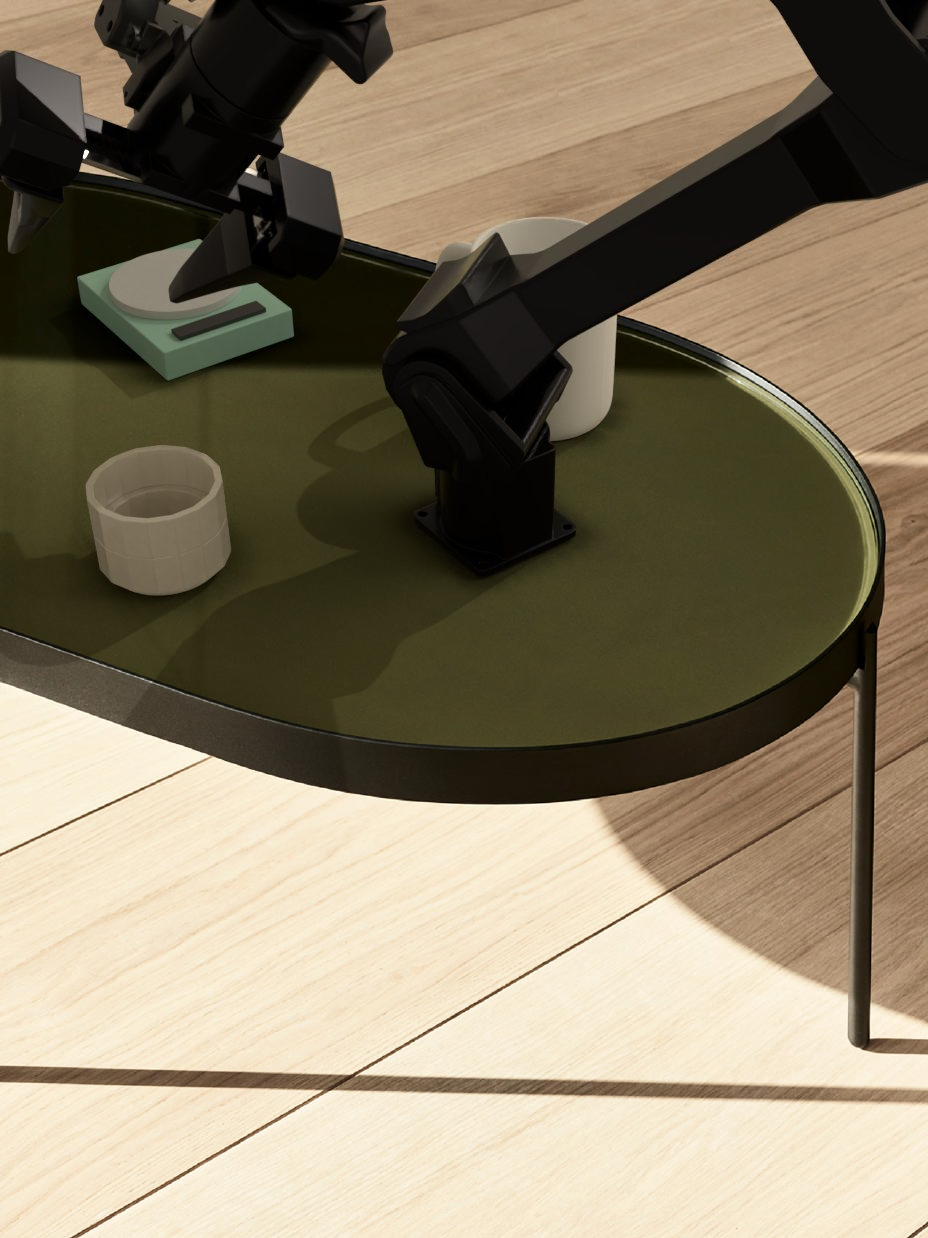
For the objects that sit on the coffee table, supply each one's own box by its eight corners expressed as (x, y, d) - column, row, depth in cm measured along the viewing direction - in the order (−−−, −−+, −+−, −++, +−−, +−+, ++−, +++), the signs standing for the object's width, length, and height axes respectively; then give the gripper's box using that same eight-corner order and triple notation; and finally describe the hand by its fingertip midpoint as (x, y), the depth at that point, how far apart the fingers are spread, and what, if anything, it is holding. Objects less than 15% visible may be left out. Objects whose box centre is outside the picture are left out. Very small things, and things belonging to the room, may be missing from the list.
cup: (559, 461, 95) (564, 300, 88) (394, 394, 101) (387, 239, 94) (639, 397, 100) (648, 241, 93) (477, 338, 106) (476, 186, 99)
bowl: (255, 569, 87) (246, 490, 84) (137, 618, 84) (123, 538, 81) (192, 508, 92) (181, 430, 89) (78, 552, 89) (63, 474, 86)
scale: (294, 336, 106) (291, 300, 104) (167, 381, 102) (162, 343, 100) (202, 265, 114) (198, 229, 112) (81, 303, 110) (74, 267, 108)
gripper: (381, 22, 87) (231, 210, 98) (46, -131, 76) (-84, 99, 87) (415, 183, 82) (253, 363, 93) (62, 44, 71) (-79, 266, 81)
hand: (94, 271), depth 88 cm, fingers open, 9 cm apart
